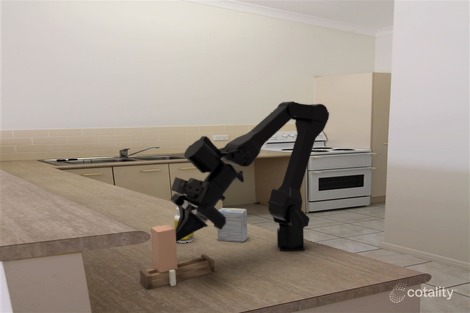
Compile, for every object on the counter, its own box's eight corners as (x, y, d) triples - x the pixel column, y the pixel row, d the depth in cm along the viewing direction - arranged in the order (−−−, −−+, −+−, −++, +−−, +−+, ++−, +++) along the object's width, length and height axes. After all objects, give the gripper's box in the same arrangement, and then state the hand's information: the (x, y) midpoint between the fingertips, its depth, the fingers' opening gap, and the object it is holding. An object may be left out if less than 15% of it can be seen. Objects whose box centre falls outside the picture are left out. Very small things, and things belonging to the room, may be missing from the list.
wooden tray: (204, 264, 99) (204, 253, 99) (215, 272, 94) (214, 260, 94) (140, 281, 91) (139, 269, 91) (148, 289, 86) (147, 277, 86)
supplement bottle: (190, 243, 115) (189, 209, 114) (172, 243, 116) (170, 209, 115) (196, 237, 121) (194, 205, 120) (179, 237, 122) (177, 205, 121)
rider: (170, 266, 94) (167, 224, 93) (177, 272, 90) (175, 228, 89) (153, 270, 92) (150, 227, 91) (160, 277, 88) (157, 232, 87)
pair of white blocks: (162, 273, 95) (161, 259, 95) (176, 285, 88) (175, 270, 88) (158, 274, 94) (157, 260, 94) (171, 286, 88) (170, 271, 87)
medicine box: (248, 237, 119) (247, 208, 118) (243, 242, 115) (242, 212, 114) (222, 236, 121) (221, 207, 120) (217, 240, 117) (216, 211, 116)
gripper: (175, 160, 100) (134, 211, 96) (210, 167, 84) (163, 229, 80) (206, 187, 105) (168, 237, 101) (244, 199, 89) (201, 259, 85)
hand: (173, 240), depth 91 cm, fingers closed
